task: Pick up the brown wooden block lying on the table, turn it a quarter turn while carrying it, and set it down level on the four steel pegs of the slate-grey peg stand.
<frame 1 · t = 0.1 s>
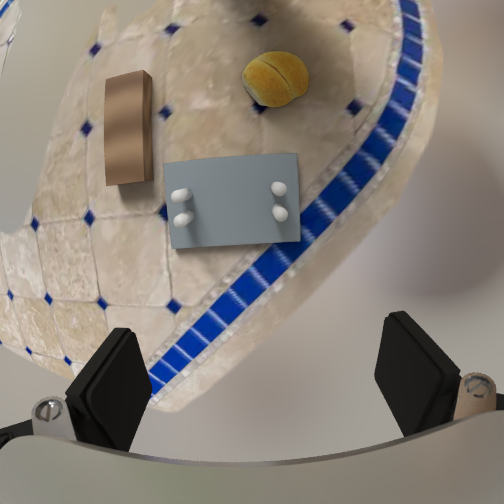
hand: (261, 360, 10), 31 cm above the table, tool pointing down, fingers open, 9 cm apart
peg stand: (232, 200, 39), on the table
bread roll: (274, 81, 35), on the table
brown wooden block: (133, 129, 36), on the table
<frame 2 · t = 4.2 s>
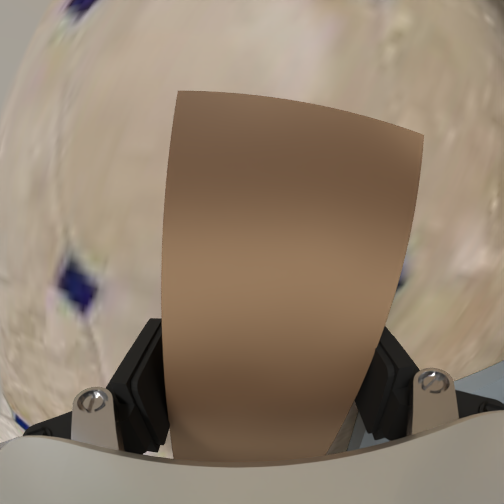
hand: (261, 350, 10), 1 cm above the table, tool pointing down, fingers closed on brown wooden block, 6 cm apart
peg stand: (448, 428, 14), on the table
brown wooden block: (260, 330, 12), on the table, touching gripper
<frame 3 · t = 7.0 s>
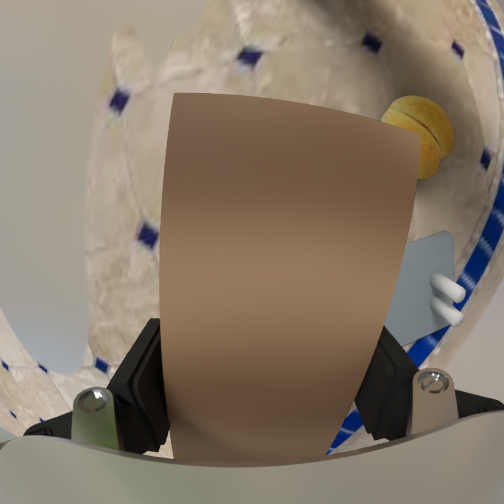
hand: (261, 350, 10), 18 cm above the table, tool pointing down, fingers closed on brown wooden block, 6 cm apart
peg stand: (386, 301, 29), on the table
bread roll: (411, 137, 25), on the table
brown wooden block: (259, 331, 12), point 16 cm above the table, touching gripper
when the fingers open (9 cm above the table, at t = 10.1 s): brown wooden block stays where it is, resting on peg stand.
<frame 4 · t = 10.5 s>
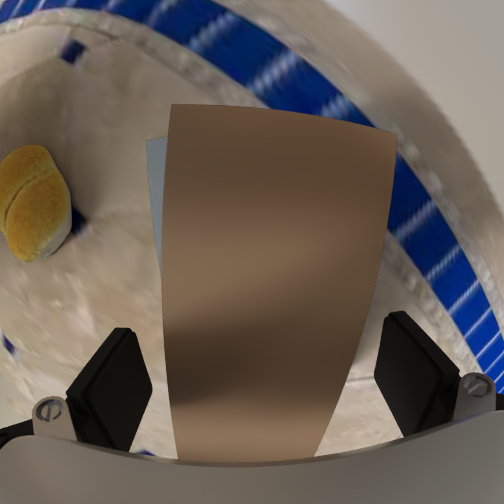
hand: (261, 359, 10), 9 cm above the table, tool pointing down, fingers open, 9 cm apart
peg stand: (257, 273, 19), on the table
bread roll: (40, 201, 18), on the table
brown wooden block: (256, 323, 12), point 6 cm above the table, touching peg stand
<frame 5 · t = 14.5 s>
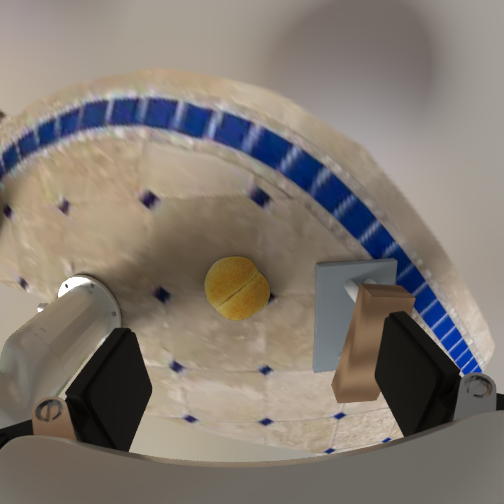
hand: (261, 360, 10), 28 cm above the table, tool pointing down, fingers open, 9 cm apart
peg stand: (352, 316, 41), on the table
bread roll: (237, 285, 40), on the table
brown wooden block: (365, 339, 34), point 6 cm above the table, touching peg stand
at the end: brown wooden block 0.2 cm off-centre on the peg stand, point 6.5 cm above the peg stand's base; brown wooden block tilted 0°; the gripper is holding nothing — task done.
